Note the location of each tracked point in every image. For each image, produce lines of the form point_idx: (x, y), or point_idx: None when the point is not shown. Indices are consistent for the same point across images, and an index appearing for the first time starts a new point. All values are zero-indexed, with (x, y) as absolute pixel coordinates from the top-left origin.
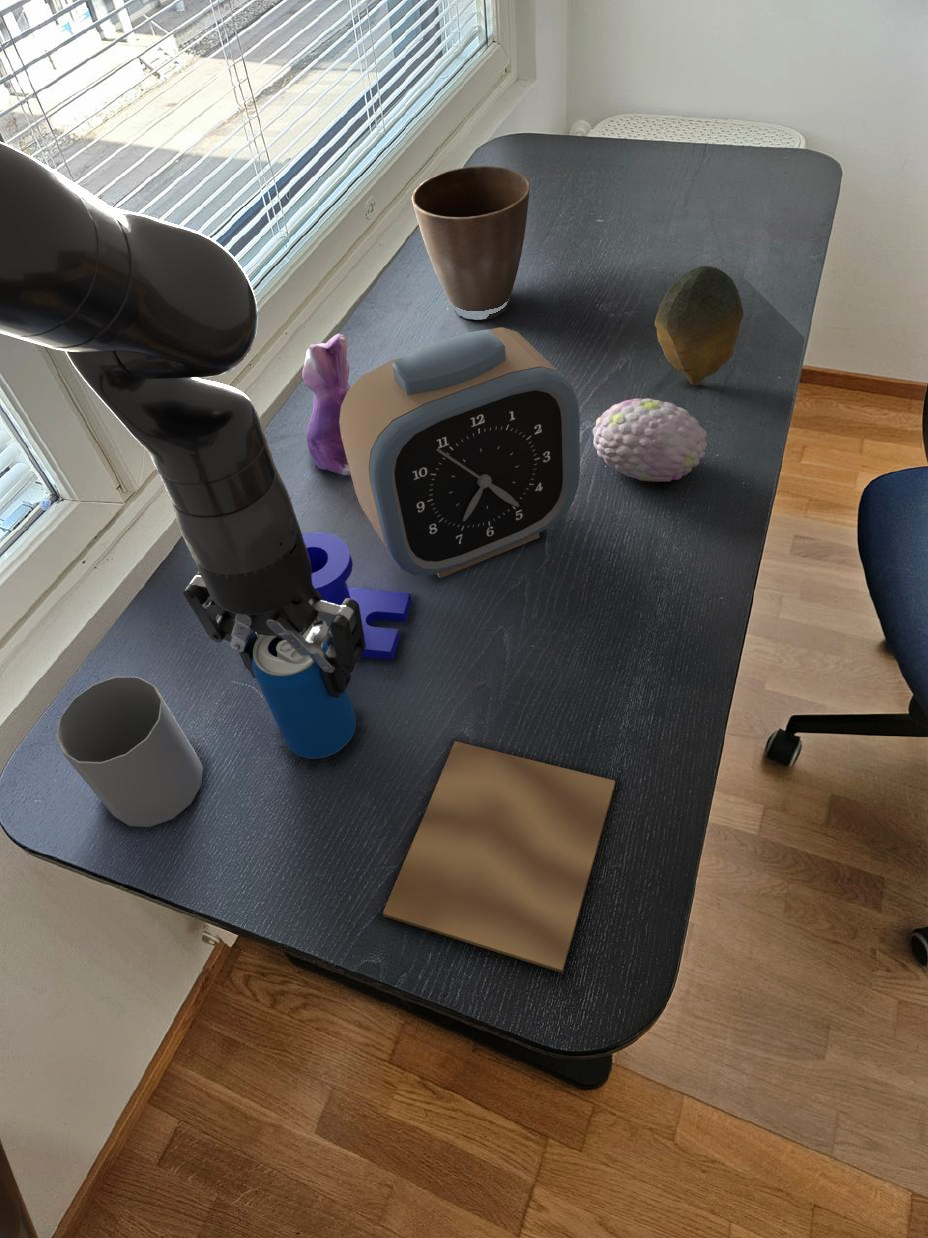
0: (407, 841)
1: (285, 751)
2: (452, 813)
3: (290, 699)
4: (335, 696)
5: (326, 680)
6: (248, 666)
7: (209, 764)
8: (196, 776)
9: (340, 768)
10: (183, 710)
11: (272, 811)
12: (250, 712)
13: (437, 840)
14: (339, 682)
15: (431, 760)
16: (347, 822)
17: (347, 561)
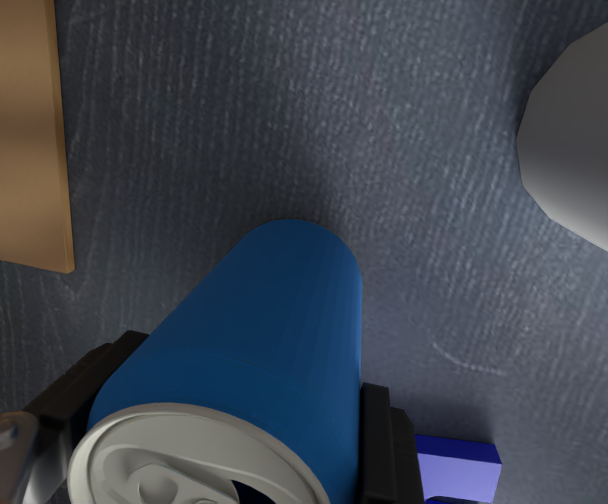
0: (74, 78)
1: (354, 235)
2: (12, 138)
3: (204, 315)
4: (125, 333)
5: (89, 381)
6: (389, 429)
7: (509, 193)
8: (528, 144)
9: (240, 210)
10: (600, 311)
11: (339, 101)
12: (448, 312)
13: (12, 80)
14: (74, 374)
15: (99, 239)
16: (188, 100)
17: None
